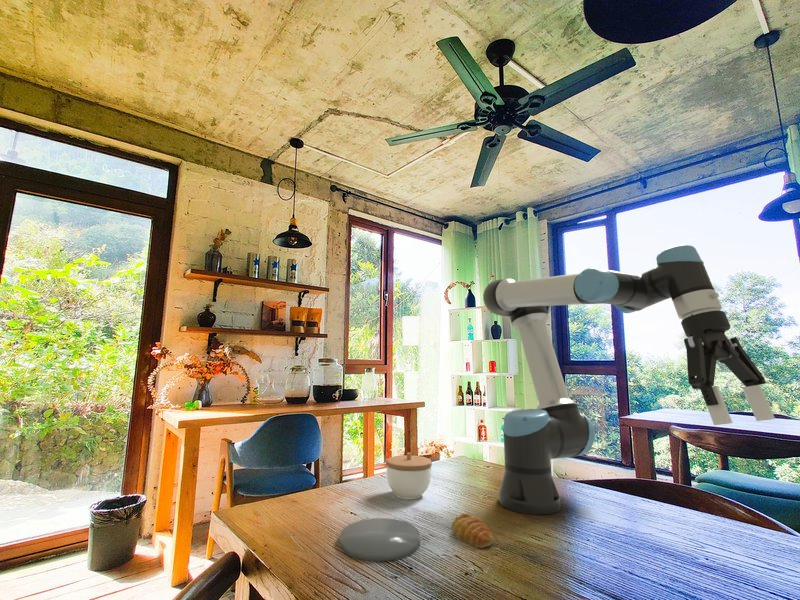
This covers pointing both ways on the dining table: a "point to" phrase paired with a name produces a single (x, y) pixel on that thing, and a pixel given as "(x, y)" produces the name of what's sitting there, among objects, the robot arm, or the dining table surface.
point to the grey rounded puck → (380, 539)
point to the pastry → (472, 531)
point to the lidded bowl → (408, 475)
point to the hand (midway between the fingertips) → (745, 422)
